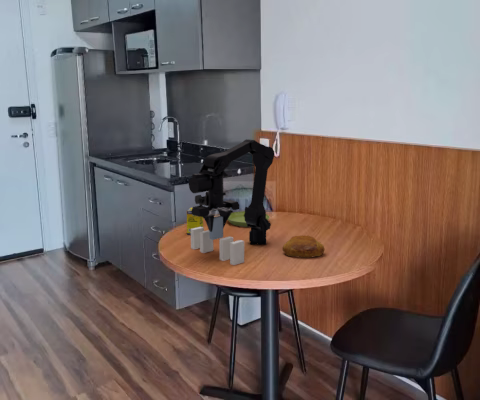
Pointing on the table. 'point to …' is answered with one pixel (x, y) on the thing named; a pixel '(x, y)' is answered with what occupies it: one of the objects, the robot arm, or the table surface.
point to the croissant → (303, 247)
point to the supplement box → (193, 221)
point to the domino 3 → (217, 228)
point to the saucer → (239, 219)
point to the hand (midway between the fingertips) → (216, 230)
